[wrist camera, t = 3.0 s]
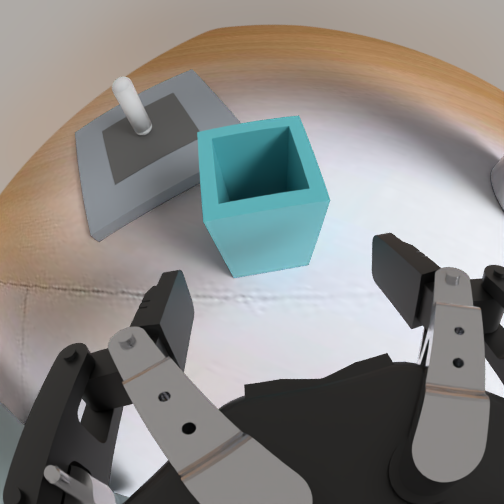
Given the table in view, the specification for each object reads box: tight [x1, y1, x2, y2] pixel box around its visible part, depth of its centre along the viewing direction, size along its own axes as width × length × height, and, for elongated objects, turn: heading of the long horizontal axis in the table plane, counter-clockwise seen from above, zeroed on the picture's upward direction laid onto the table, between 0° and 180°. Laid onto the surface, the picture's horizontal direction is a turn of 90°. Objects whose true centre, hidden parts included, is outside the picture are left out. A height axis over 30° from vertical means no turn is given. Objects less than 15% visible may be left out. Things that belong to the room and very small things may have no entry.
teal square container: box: [197, 116, 330, 278], centre depth 18 cm, size 6×6×10 cm
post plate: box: [75, 69, 241, 241], centre depth 24 cm, size 18×18×10 cm
